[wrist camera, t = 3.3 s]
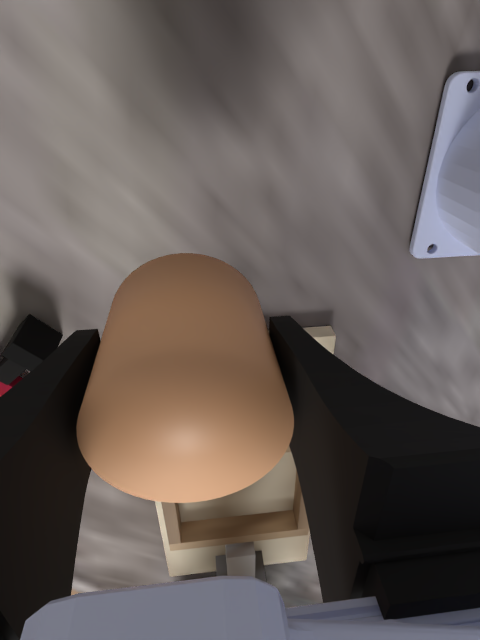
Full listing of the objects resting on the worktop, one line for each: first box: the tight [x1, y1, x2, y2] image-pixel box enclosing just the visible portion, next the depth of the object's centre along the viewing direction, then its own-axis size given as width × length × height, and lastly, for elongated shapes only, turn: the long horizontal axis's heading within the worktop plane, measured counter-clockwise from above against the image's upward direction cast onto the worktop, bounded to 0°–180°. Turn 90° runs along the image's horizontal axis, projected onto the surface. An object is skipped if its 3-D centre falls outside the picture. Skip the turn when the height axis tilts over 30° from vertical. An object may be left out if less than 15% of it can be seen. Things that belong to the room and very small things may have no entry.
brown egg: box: [76, 253, 294, 503], centre depth 12 cm, size 5×5×5 cm
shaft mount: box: [155, 326, 336, 583], centre depth 27 cm, size 11×22×4 cm, turn 1°
